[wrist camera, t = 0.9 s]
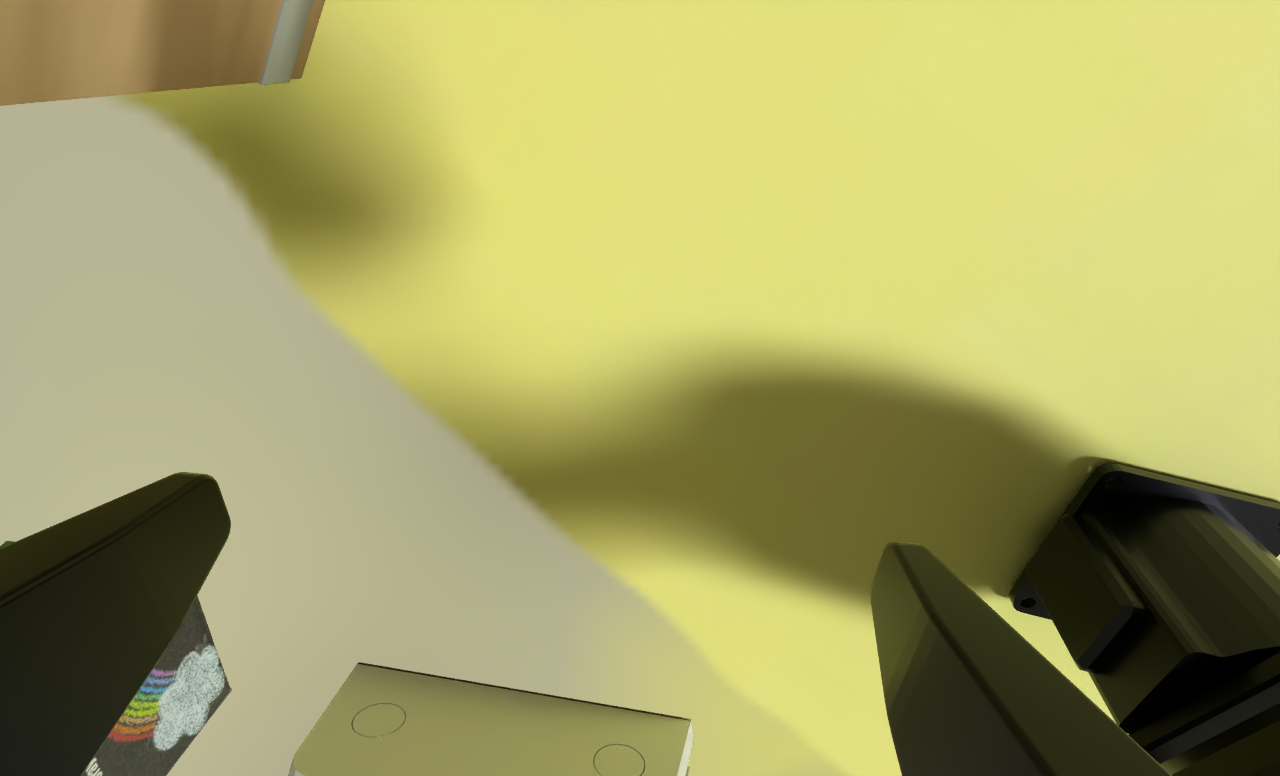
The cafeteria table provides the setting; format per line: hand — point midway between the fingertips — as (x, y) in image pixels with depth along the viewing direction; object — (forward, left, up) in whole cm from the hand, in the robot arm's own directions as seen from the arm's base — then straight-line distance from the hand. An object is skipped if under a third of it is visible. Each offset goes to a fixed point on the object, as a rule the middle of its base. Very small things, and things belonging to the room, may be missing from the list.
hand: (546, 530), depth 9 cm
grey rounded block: (+2, +23, -13) cm, 27 cm away
